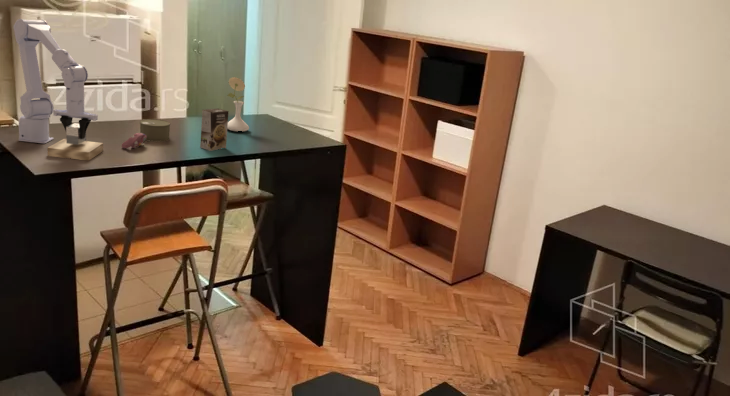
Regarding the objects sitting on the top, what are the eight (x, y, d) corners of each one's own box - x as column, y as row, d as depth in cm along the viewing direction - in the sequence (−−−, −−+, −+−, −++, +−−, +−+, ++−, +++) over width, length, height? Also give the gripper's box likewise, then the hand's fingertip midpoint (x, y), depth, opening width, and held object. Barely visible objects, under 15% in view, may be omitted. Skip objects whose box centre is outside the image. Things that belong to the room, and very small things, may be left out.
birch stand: (47, 156, 204) (47, 147, 203) (64, 146, 218) (64, 138, 217) (89, 160, 206) (88, 152, 205) (103, 150, 219) (103, 143, 218)
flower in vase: (253, 132, 281) (257, 80, 273) (236, 134, 271) (240, 80, 263) (234, 125, 287) (237, 75, 279) (217, 128, 278) (220, 75, 270)
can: (175, 140, 247) (175, 125, 244) (148, 142, 238) (148, 126, 236) (160, 133, 254) (161, 118, 252) (134, 135, 245) (134, 119, 243)
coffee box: (210, 151, 239) (212, 112, 233) (199, 147, 242) (201, 109, 236) (226, 148, 246) (229, 110, 241) (215, 144, 249) (218, 107, 244)
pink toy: (129, 153, 225) (136, 139, 223) (119, 146, 225) (127, 132, 223) (143, 148, 235) (150, 134, 232) (134, 141, 235) (141, 128, 232)
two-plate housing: (66, 143, 207) (66, 126, 205) (74, 139, 214) (74, 123, 212) (78, 144, 208) (77, 128, 206) (86, 140, 214) (86, 124, 212)
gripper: (100, 100, 210) (101, 137, 214) (59, 95, 209) (60, 132, 213) (92, 104, 203) (93, 142, 208) (50, 98, 202) (51, 136, 206)
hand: (76, 137), depth 210 cm, fingers closed on two-plate housing, 4 cm apart
